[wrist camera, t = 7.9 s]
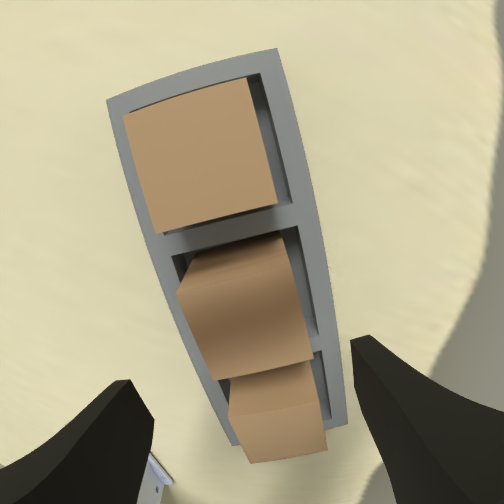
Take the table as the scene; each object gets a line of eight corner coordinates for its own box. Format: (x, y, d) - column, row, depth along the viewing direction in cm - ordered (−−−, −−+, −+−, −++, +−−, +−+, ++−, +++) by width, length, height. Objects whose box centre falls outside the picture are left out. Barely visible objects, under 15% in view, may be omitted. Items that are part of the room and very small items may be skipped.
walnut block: (299, 304, 18) (313, 358, 13) (222, 324, 18) (213, 380, 13) (279, 229, 16) (290, 263, 12) (195, 252, 17) (175, 294, 12)
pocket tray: (339, 395, 21) (357, 457, 16) (233, 416, 22) (230, 479, 16) (272, 64, 15) (283, 24, 9) (128, 106, 15) (74, 92, 10)
